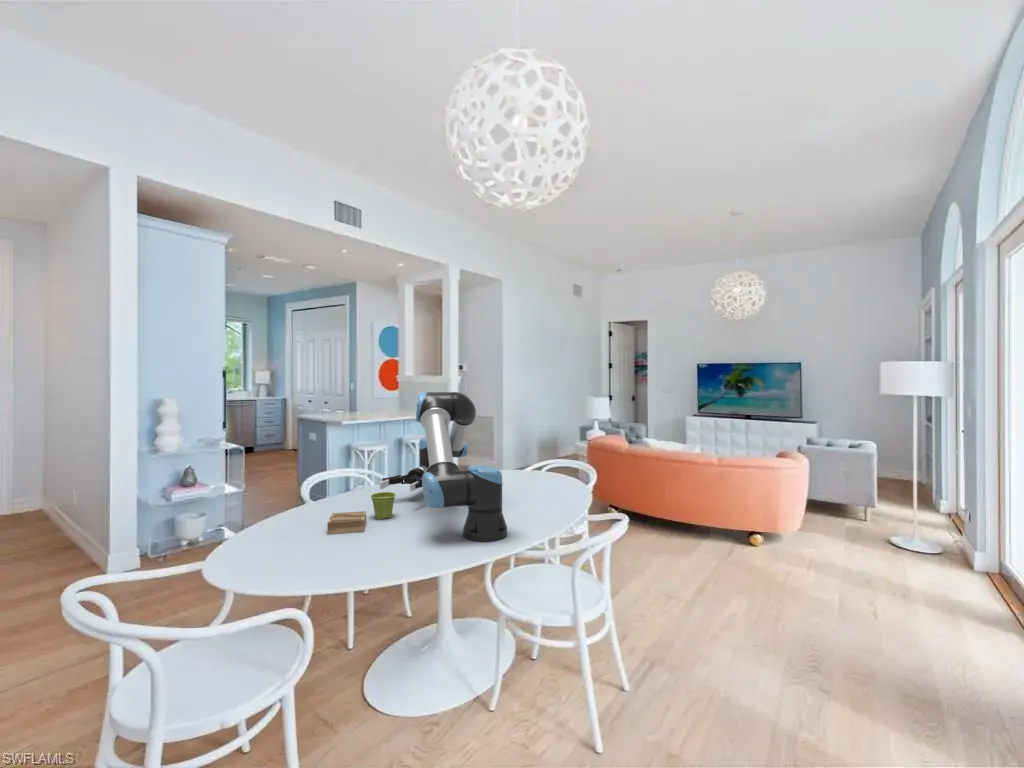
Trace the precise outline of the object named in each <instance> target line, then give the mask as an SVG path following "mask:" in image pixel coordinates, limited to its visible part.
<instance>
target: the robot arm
mask: <svg viewBox="0 0 1024 768" xmlns="http://www.w3.org/2000/svg"><path fill="white" fill-rule="evenodd" d="M476 415H477V410H476V406H475V404H474V402H473V401H472V399H470V397H469V396H467V395H466V394H464V393H461V392H457V391H452V392H451V391H447V392H446V391H442V392H441V391H440V392H439V391H434V392H433V391H432V392H431V391H427V392H420V393H419V394H418V396H417V402H416V414H415V421H416V422H417V423H420V425H421V427H422V428H423V429H424V430H425V431H424V432H425V437H422V438H420V439H419V444H418V445H419V447H418V452H419V453H418V455H419V462H418V463H419V464H418V465H419V466H417V467H414V468H413V469H411V470H409V471H408V473H406V474H405V475H402V474H398V475H393V476H390V477H389V476H387V477H383V478H382V481H380V482H379V483H378V484H379V490H383V489H385V488H388V487H389V486H391V485H397V484H398V485H399V484H401V485H409V492H414V491H417V489H421V488H422V493H423V498H424V502H425V504H426V506H427V507H429V508H431V509H434V508H435V509H437V508H438V509H442V508H454V507H468V510H467V511H468V512H467V516H466V518H465V522H464V525H463V528H462V529H463V530H462V536H463V537H464V538H465V539H467V540H470V541H474V542H494V541H499V540H502V539H504V538H506V537H508V525H507V523H506V520H505V516H504V514H503V513H504V512H503V484H504V483H503V475H502V471H501V470H500V469H498V468H497V467H493V466H488V465H486V466H485V465H478V464H476V465H475V464H474V465H469V466H468V467H467V470H460V468H459V465H457V464H456V463H455V462H454V458H464V457H466V456H467V455H468V449H469V448H468V442H467V441H466V439H467V437H468V433H469V431H470V427H471V424H473V423H474V421H475V419H476ZM450 422H452V424H451V427H450V431H449V427H448V425H449V424H450Z"/></svg>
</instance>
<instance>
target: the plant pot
mask: <svg viewBox="0 0 1024 768" xmlns="http://www.w3.org/2000/svg"><path fill="white" fill-rule="evenodd" d="M396 494H397V493H395V492H391V491H382V492H380V491H379V492H376V493H375V492H374V493H372V494H370V498H371V501H372V505H373V511H374V517H375V518H376V520H385V519H390V518H391V517H392V516H393V509H394V508H393V507H394V501H395V497H396V496H397V495H396Z"/></svg>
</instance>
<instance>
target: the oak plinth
mask: <svg viewBox="0 0 1024 768" xmlns="http://www.w3.org/2000/svg"><path fill="white" fill-rule="evenodd" d="M366 524H367V510H365V511H364V510H363V511H347V512H346V511H345V512H332V513H331V514H330V517H329V518H328V521H327V524H326V525H327V535H334V534H333V533H340V534H349V533H348V532H355V533H364V532H365V529H366ZM363 531H364V532H363Z"/></svg>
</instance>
